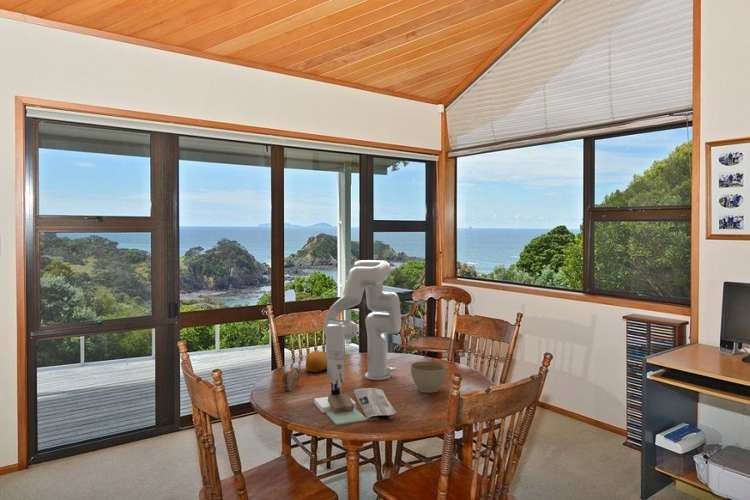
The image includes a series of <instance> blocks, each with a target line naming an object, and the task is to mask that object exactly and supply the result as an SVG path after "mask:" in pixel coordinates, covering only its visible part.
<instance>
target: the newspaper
mask: <svg viewBox="0 0 750 500" xmlns="http://www.w3.org/2000/svg"><path fill="white" fill-rule="evenodd" d="M353 393H354V396H355V398H356V400H357V401H358V404H359V407H360V408H361V410H362V412H363V416H364V417H365V418H367V420H366V421H369V422H371V421H377V420H378V421H379V420H380V419H379V417H378V416H387V418H388V419H389V420H393V419H394V418H395V414H397V411H396V410H395V408H394V407H393V406H392V404H391V403H390V401H389V400H388V398H387V395H386V394H385V392H384V390H383V389H378V388H375V387H368V388H367V387H365V388H357V389H354V390H353Z"/></svg>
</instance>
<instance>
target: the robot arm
mask: <svg viewBox="0 0 750 500" xmlns="http://www.w3.org/2000/svg"><path fill="white" fill-rule="evenodd" d="M390 274H391V265H390V263H389V262H388V261H386V260H373V259H372V260H370V259H366V260H365V259H364V260H363V259H362V260H357V261H355V262H354V264H353V267H352V268H351V269H350V270H349V271H348V275H347V278H346V282H345V286H344V289H343V293H342V296H341V297H340V298H338V299H337V300H336V301H335V302H334V303H333V304H332V305H331V306H330V308H329V309H328V310H327V313H326V317H325V320H324V321H323V322H324V323H323V333H324V336H325V352H326V359H328V362H327V369H326V377H327V379H328V381H329V382H330V396H331V395H338V394H341V388H342V384H345V383H346V370H345V360H344V359H345V358H346V357H345V340H350V339H353V338H354V337H356V335H357V334H358V325H357V323H355V322H354V321H353V320H345V319H337V318H338V316H339V315H340V314H342V312H344V311H346V310H349V309H350V308H353V307H356V306H358V305H360V303H361V302H362V299H363V297H364V292H365V299H366V306H367V309H368V310H370V311H372V312H370V313H368V314H367V315H366V317H365V320H364V321H365V322H364V323H365V328H366V333H367V335H366V336H367V372H366V373H364V378H365V379H367V380H372V381H384V380H388V379H390V378H391V373H393V372H394V373H395V372H397V368H396V367H389V366H388V340H387V338H386V336H385V334H398V333H399V332H400V331H401V329H402V316H401V315H402V314H401V305H400V297H399V295H398V294H397V293H396V292H393V291H385V290H384V285H383V283H384V282H385V281H386V280H387V279H388V278H389V277H390ZM384 333H385V334H384Z"/></svg>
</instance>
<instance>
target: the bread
mask: <svg viewBox="0 0 750 500" xmlns="http://www.w3.org/2000/svg"><path fill="white" fill-rule="evenodd" d="M305 358H306V359H305V360H306V361H305V362H306V363H305V368H306V370H307V371H308V372H311V373H318V372H322V371H324V370H327V362H328V359H326V350H325V351H321V350H314V351H312V352H309V353H308V352H307V354H306V356H305Z"/></svg>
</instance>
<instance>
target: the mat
mask: <svg viewBox="0 0 750 500" xmlns="http://www.w3.org/2000/svg"><path fill="white" fill-rule="evenodd" d="M325 415H327V417H328V418H329V419H330V420H331V421H332V422H333V424H334V425H336V426H340V425H346V424H352V423H358V422H366V421H367V418H366V417H365V415H364V414H362V413H361V412H360V411H359V410H358V409H357V407H356V408H355V407H354V410H353V411H347V412H341V413H335V414H334V412H333V410H330V411H325Z"/></svg>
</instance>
